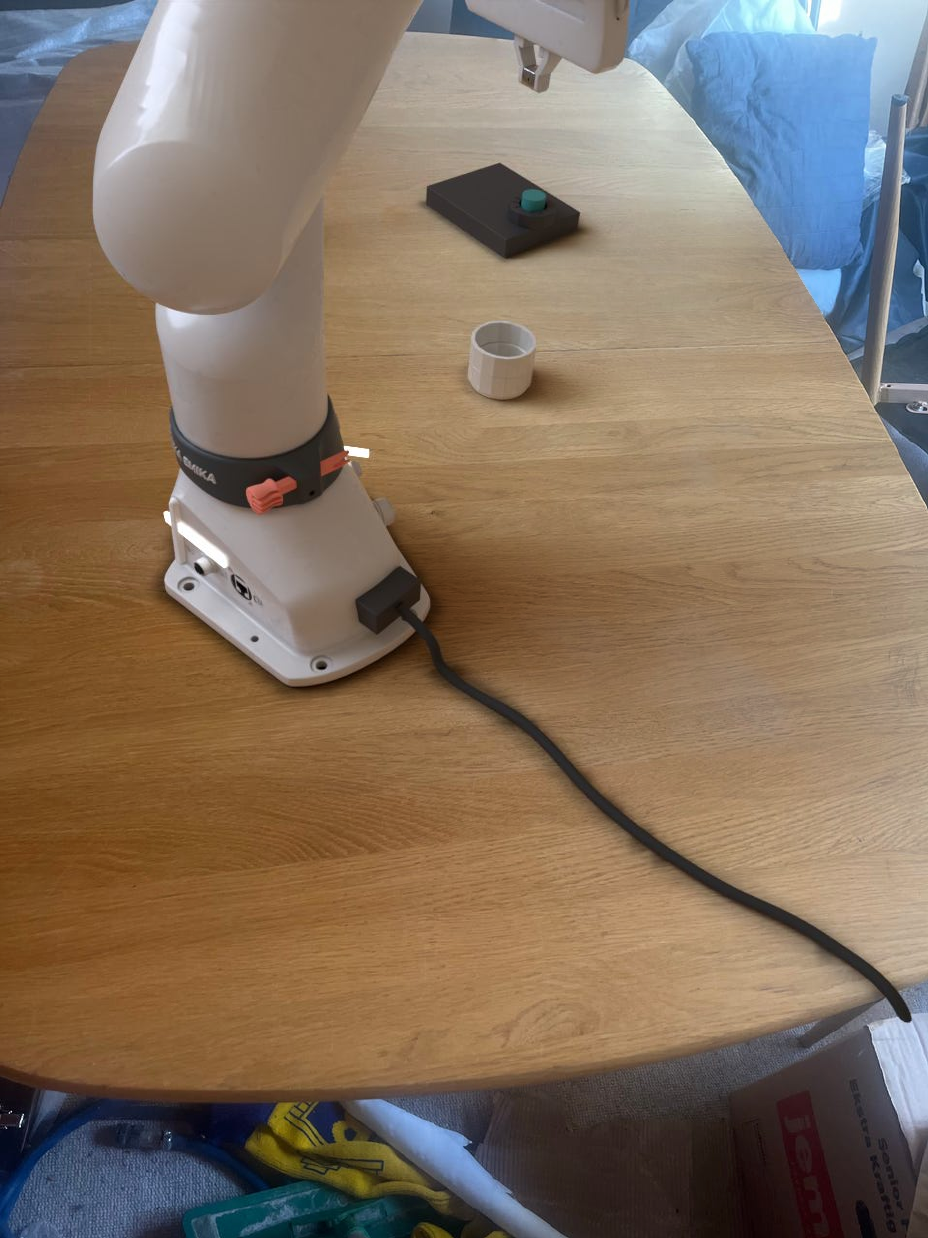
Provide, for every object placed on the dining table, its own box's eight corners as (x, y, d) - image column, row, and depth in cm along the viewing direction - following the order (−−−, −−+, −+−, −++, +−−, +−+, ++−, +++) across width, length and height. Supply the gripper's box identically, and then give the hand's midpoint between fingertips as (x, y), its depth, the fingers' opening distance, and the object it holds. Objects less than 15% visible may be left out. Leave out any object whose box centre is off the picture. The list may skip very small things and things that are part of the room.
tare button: (549, 209, 114) (551, 196, 113) (531, 215, 113) (533, 202, 111) (533, 199, 115) (535, 186, 114) (516, 205, 114) (517, 192, 113)
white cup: (543, 386, 98) (550, 344, 94) (495, 409, 95) (500, 366, 91) (502, 355, 101) (507, 313, 97) (454, 376, 98) (458, 333, 94)
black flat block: (580, 232, 118) (586, 200, 115) (507, 260, 113) (511, 228, 110) (498, 180, 125) (501, 149, 122) (425, 204, 120) (426, 172, 117)
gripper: (657, -40, 87) (625, 118, 98) (506, -104, 96) (491, 47, 107) (610, -29, 84) (582, 132, 95) (458, -96, 93) (448, 58, 104)
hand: (533, 86), depth 101 cm, fingers closed
